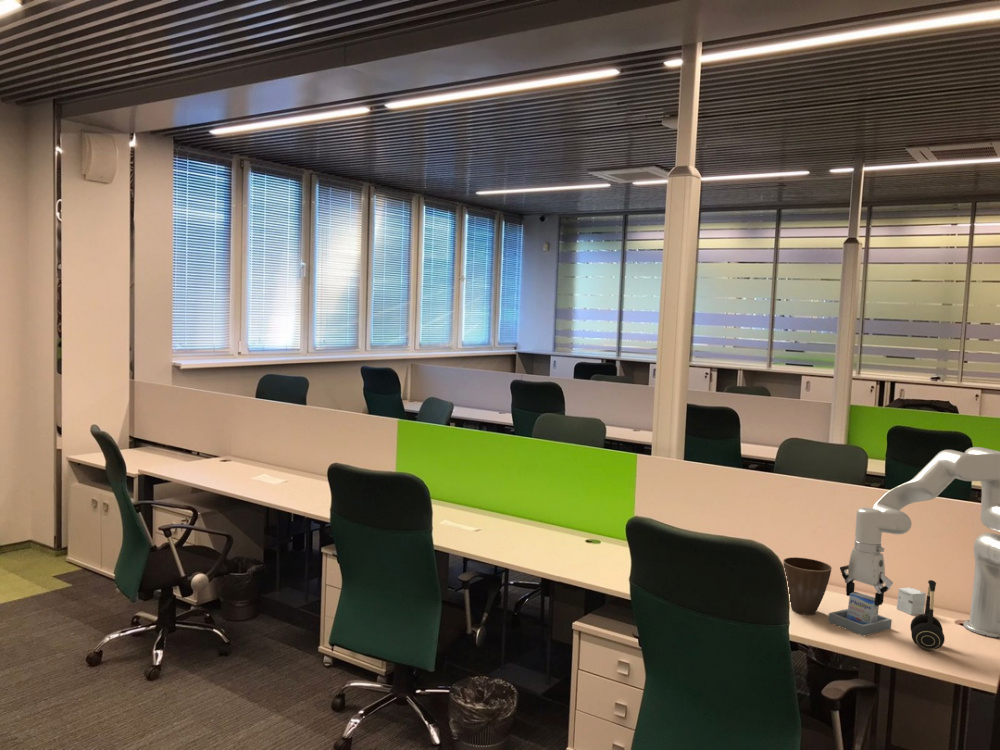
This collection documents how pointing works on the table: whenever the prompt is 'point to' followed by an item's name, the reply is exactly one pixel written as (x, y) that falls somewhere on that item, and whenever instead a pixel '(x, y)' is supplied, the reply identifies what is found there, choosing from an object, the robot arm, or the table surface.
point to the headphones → (927, 625)
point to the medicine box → (862, 608)
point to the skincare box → (911, 601)
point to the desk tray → (874, 627)
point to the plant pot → (806, 583)
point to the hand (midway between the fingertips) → (864, 600)
